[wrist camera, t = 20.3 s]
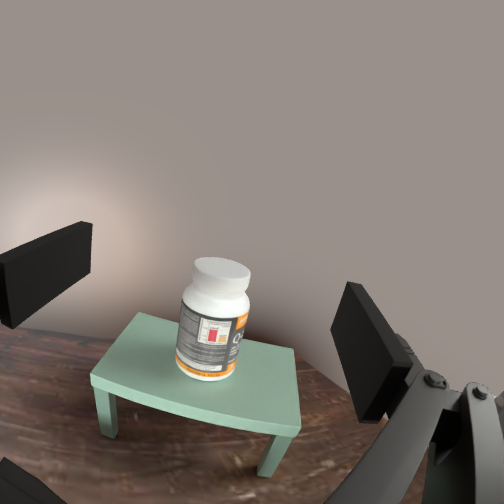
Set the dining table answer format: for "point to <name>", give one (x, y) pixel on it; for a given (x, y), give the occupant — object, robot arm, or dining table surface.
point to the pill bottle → (212, 319)
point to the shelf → (201, 386)
